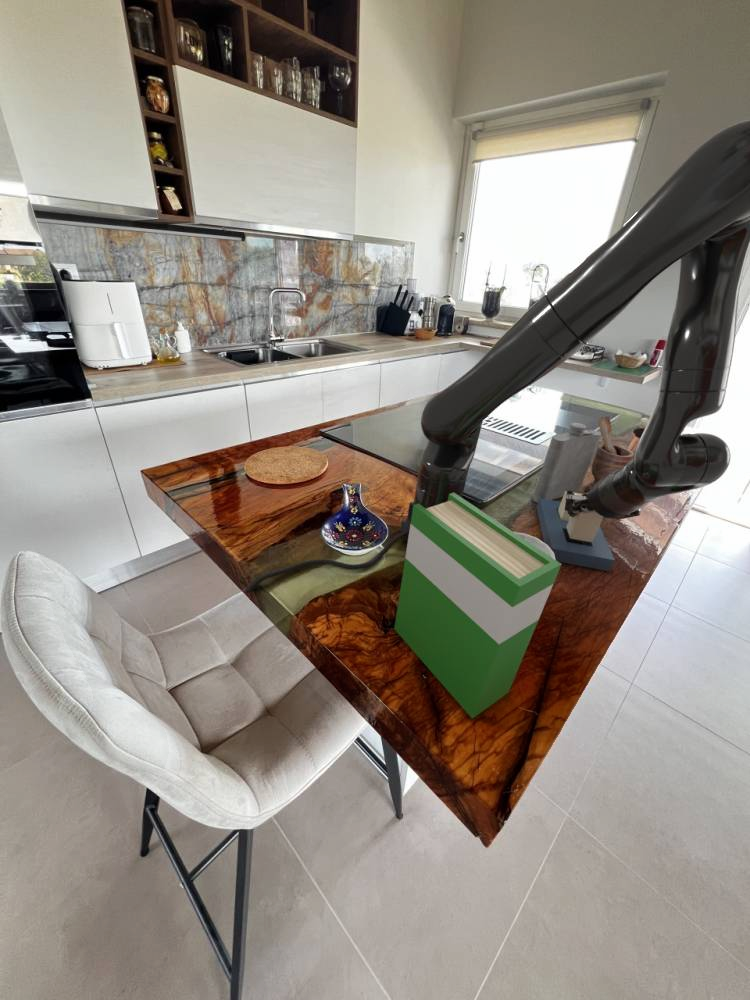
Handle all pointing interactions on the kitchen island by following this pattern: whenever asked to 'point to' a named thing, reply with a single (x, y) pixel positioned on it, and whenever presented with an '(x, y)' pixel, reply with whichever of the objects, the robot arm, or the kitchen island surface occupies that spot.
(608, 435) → the mortar and pestle
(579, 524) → the beige block
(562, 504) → the beige wooden block
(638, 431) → the grandmother figurine
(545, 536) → the holder
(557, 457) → the hip flask
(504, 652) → the hardback book
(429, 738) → the kitchen island surface
